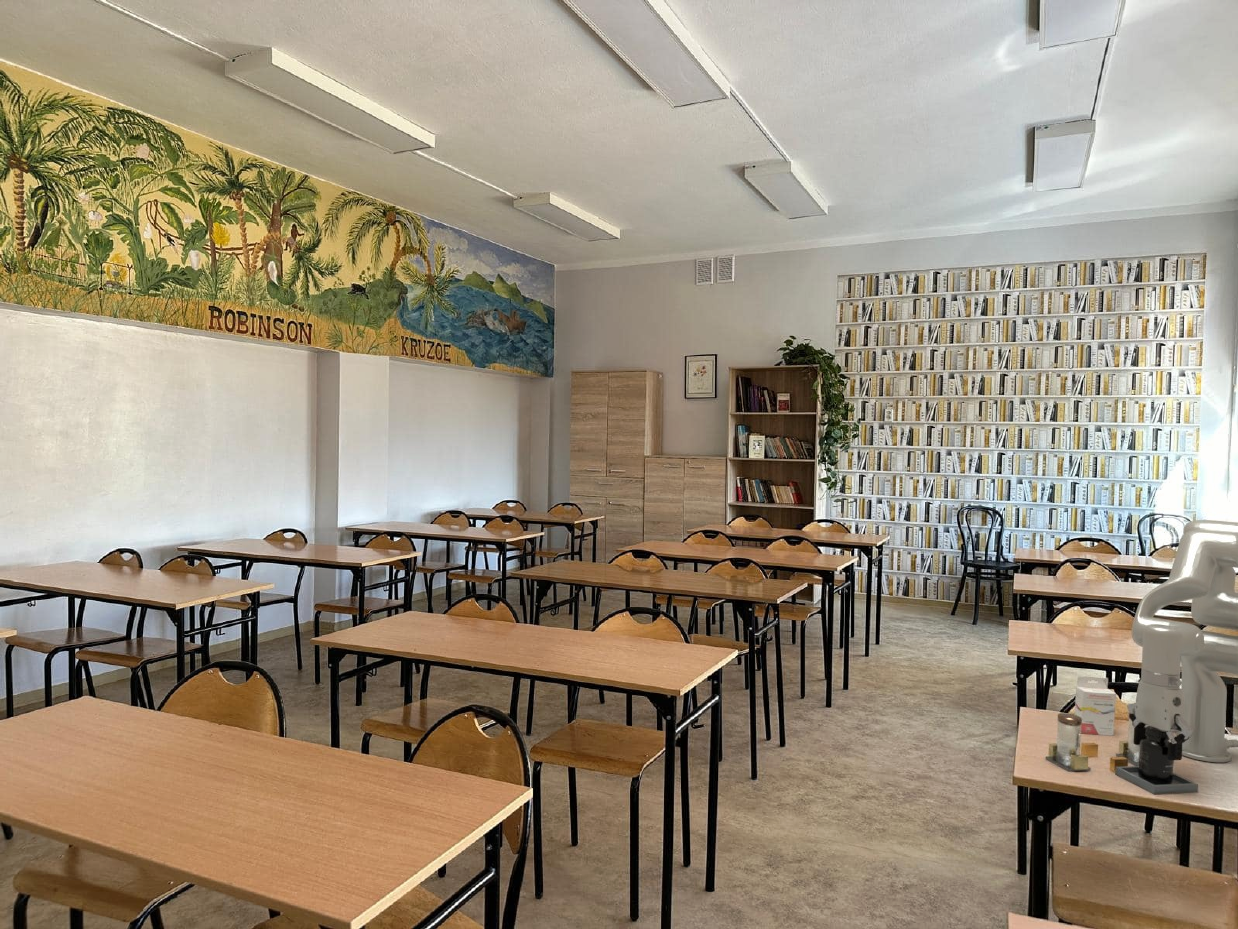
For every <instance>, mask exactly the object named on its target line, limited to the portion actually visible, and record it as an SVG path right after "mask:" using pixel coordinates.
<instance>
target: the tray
mask: <svg viewBox="0 0 1238 929" xmlns="http://www.w3.org/2000/svg"><path fill="white" fill-rule="evenodd" d="M1114 774H1115V776H1118V777H1119V778H1122V779H1124V780H1125V781H1127V782H1130V783H1131V784H1132V785H1135V786H1137V787H1139V788H1141V789H1142V790H1145V791H1147V792H1148V793H1150V794H1152V795H1168V794H1169V795H1170V794H1187V793H1191V794H1192V793H1198V792H1199V791H1198V790H1199V784H1198V783H1196V782H1194V781H1192V780H1191V779H1190V780H1189V779H1188V778H1185V777H1183V776H1181V775H1179V774H1177V773H1175V772H1173V782H1172V783H1171V784H1167V785H1158V784H1153V783H1150V782H1148V781H1146V780H1144V779H1142V778H1140V777H1139V776H1138V766H1136V765H1129V766H1124V767H1116V768H1115V772H1114Z"/></svg>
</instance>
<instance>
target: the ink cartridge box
mask: <svg viewBox="0 0 1238 929" xmlns="http://www.w3.org/2000/svg"><path fill="white" fill-rule="evenodd" d="M1091 681H1094V683H1093V682H1091ZM1095 682H1097V683H1095ZM1108 685H1109V677H1099V676H1084V675H1083V676H1082V675H1079V676H1077V681H1076V687H1075V699H1074V704H1075V705H1074V715H1077V716H1079V717H1081V718H1082V724H1081V734H1085V735H1086V734H1089V735H1099V736H1100V735H1101V736H1114V732H1115V715H1116V713H1115V712H1116V699H1117V698H1116V696H1117V693H1116V692H1114V691H1112V690H1111V689H1109V688H1108Z"/></svg>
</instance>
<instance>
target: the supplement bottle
mask: <svg viewBox="0 0 1238 929" xmlns="http://www.w3.org/2000/svg"><path fill="white" fill-rule="evenodd" d="M1145 735H1146V737H1144V738H1142V739H1141V740H1140V747H1139V765H1138V776H1139V777H1140V778H1142V779H1144V780H1146V781H1148V782H1150V783H1153V784H1158V785H1167V784H1171V783H1172V782H1173V773H1174V764H1175V760H1172V761H1171V760H1168V758H1167V756H1168V742H1170V739H1169V737H1168V735H1167V733H1166V732H1164V731H1161V730H1159V729H1156V728H1154V727H1151V726H1146V732H1145Z"/></svg>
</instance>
